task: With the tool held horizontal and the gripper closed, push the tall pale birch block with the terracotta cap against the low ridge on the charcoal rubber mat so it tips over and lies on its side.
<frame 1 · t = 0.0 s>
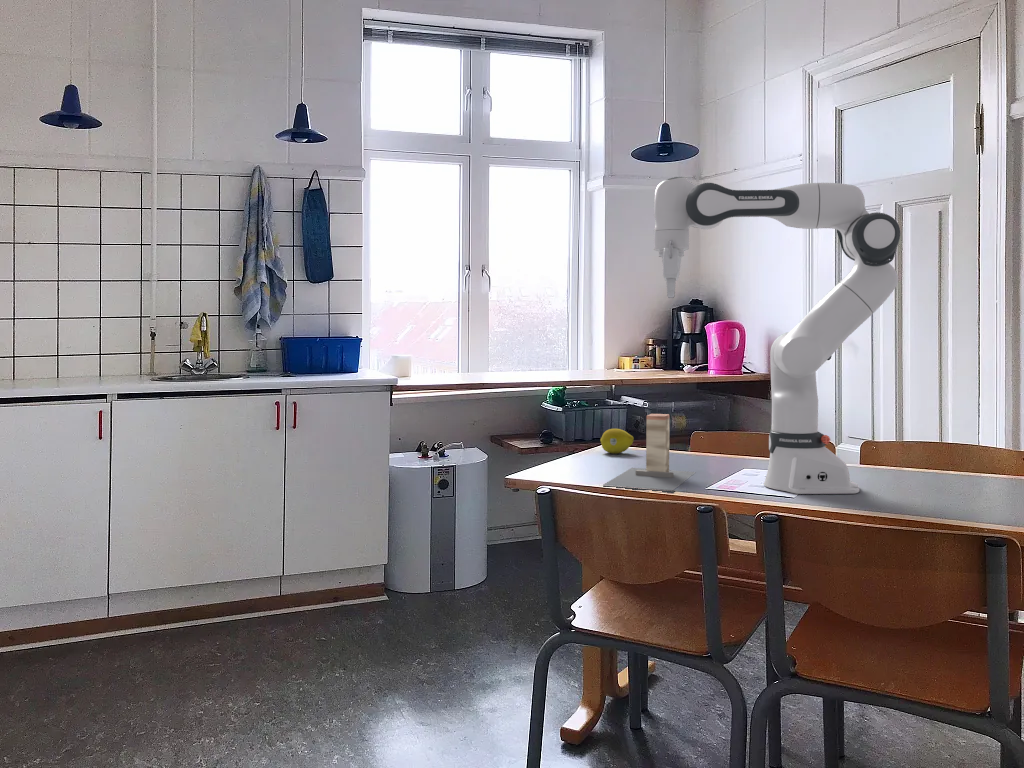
hand: (671, 297, 212), 48 cm above the table, fingers open, 8 cm apart
lemon: (616, 454, 263), on the table
birch block: (657, 473, 224), point 1 cm above the table, touching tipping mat
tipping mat: (651, 481, 219), on the table
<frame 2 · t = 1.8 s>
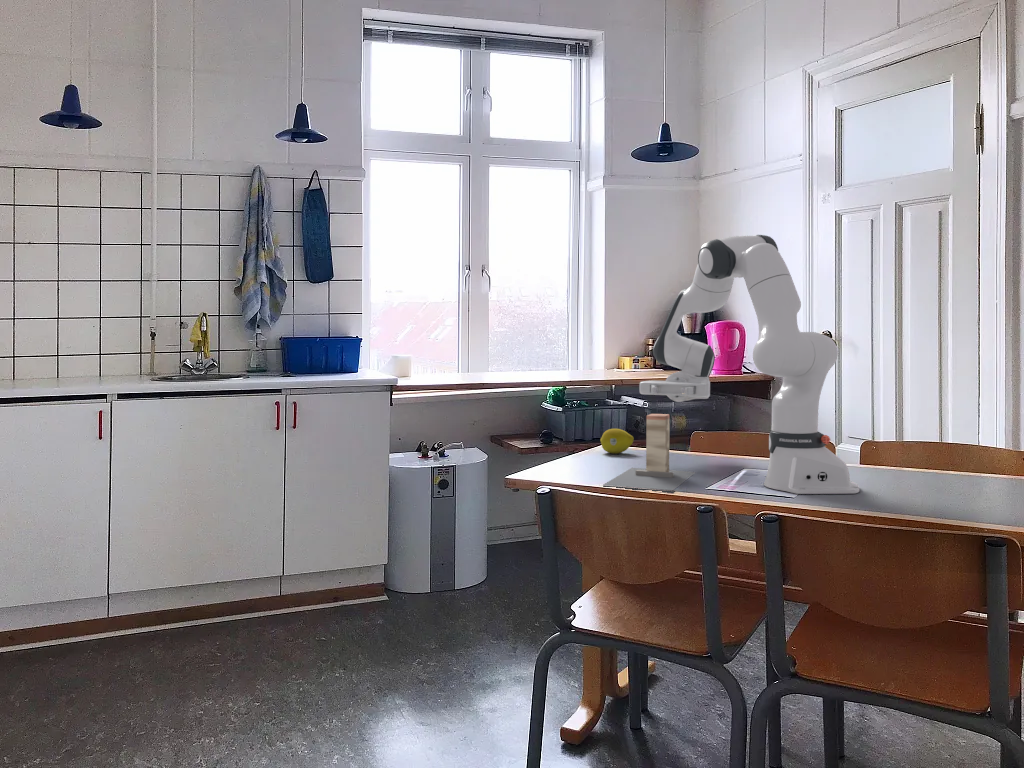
hand: (668, 390, 234), 22 cm above the table, fingers open, 7 cm apart
nothing on the table moved.
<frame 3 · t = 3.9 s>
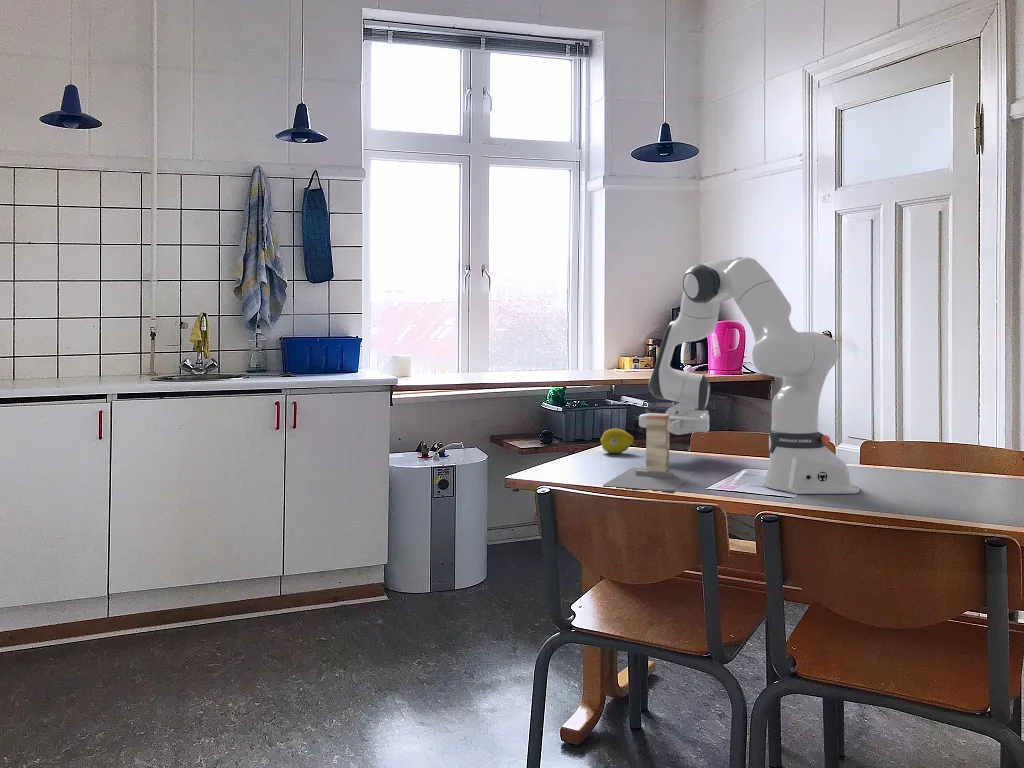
hand: (668, 425, 235), 12 cm above the table, fingers closed
nothing on the table moved.
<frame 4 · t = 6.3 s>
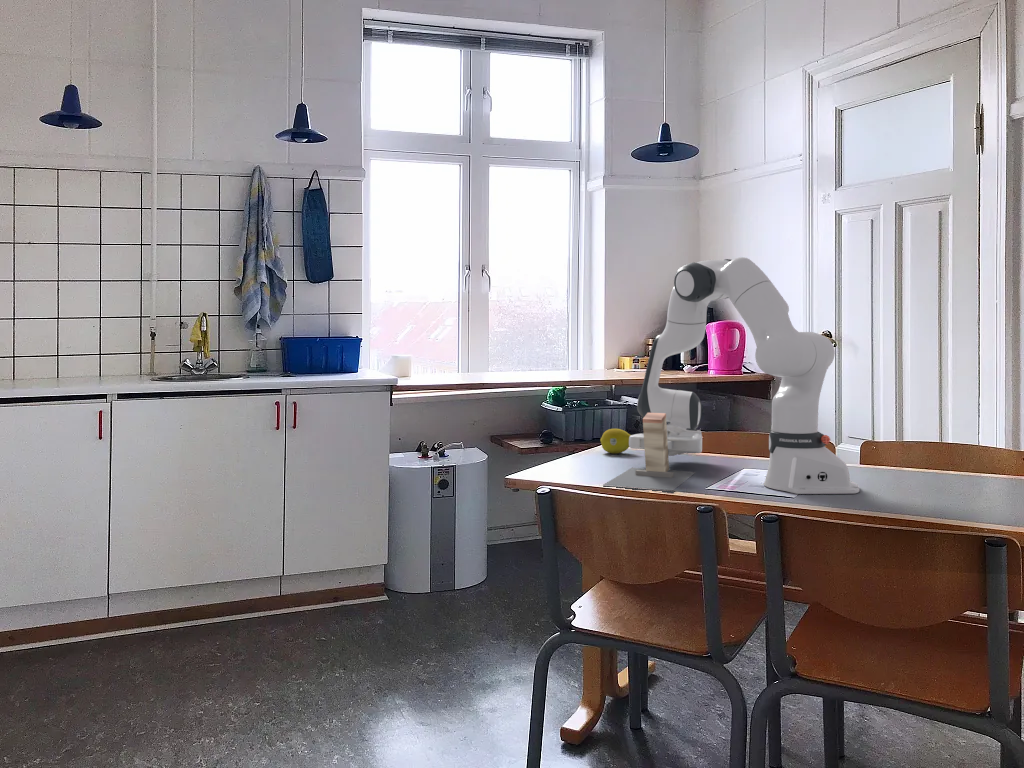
hand: (658, 446, 225), 8 cm above the table, fingers closed, pressing on birch block
birch block: (657, 471, 224), point 1 cm above the table, tilted 14°, touching gripper, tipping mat
everything else where it was.
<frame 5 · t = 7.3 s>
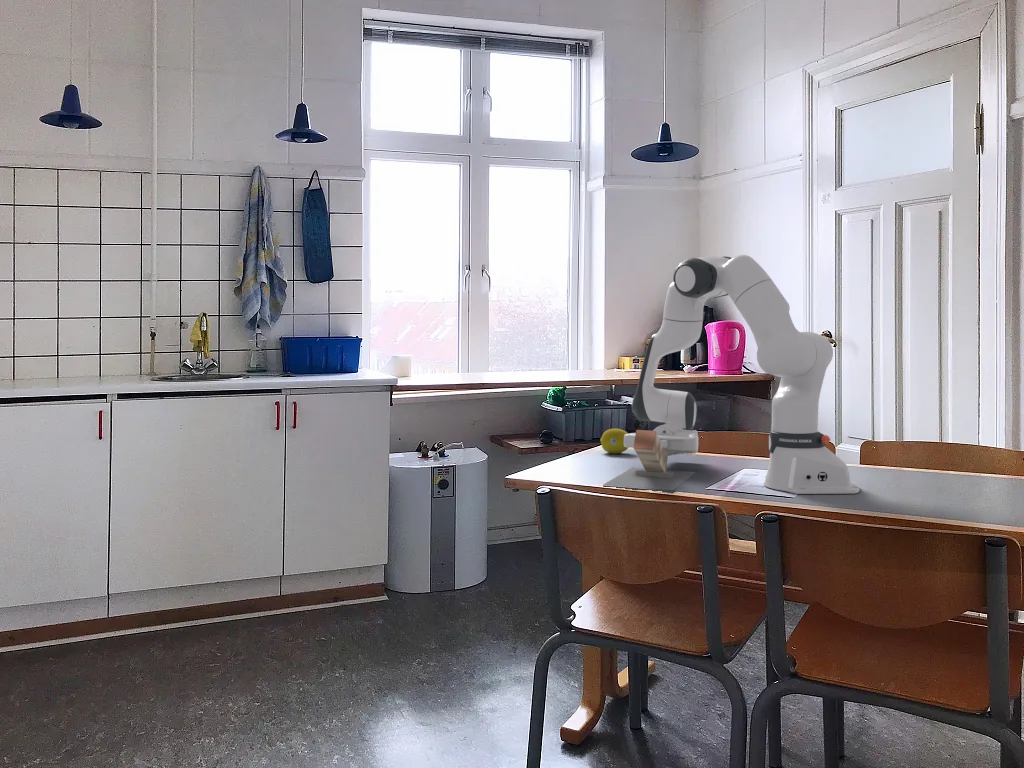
hand: (654, 444, 221), 9 cm above the table, fingers closed, pressing on birch block
birch block: (657, 464, 224), point 3 cm above the table, tilted 57°, touching gripper, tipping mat
everything else where it was.
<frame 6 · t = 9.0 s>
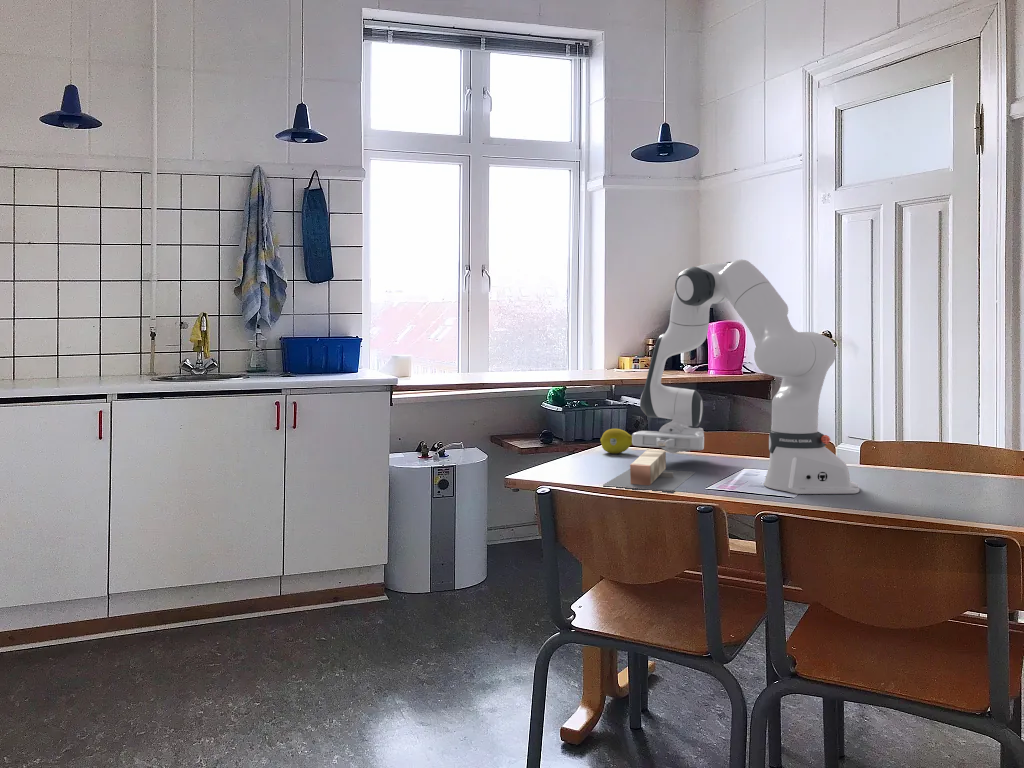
hand: (661, 444, 229), 8 cm above the table, fingers closed
birch block: (656, 458, 224), point 5 cm above the table, tilted 96°, touching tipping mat
everything else where it was.
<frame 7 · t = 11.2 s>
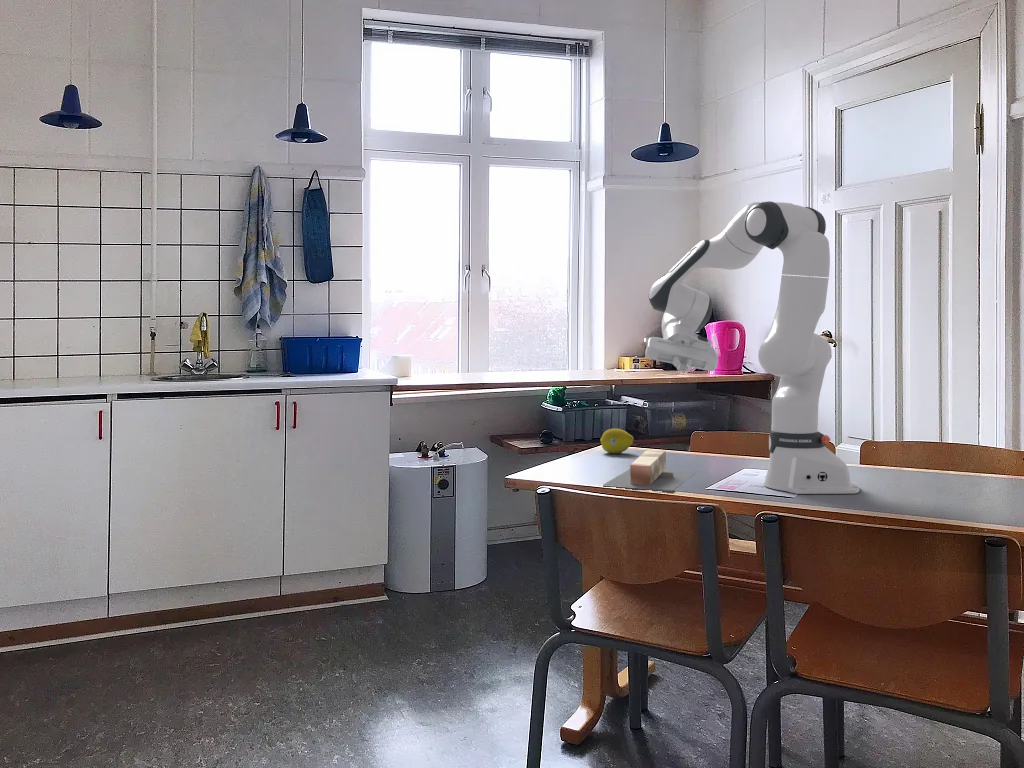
hand: (683, 369, 227), 29 cm above the table, fingers closed
nothing on the table moved.
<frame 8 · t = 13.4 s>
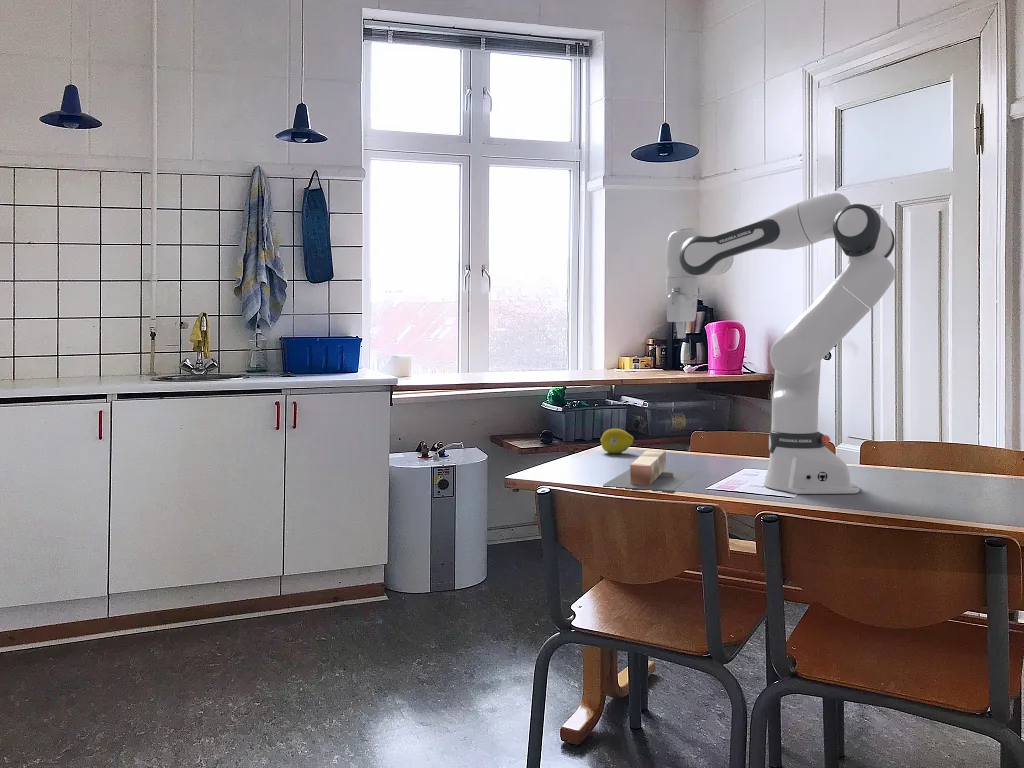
hand: (681, 338, 232), 37 cm above the table, fingers closed
nothing on the table moved.
at the end: birch block tilted 96°; birch block 6.3 cm from the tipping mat (horizontally); the gripper is holding nothing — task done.
